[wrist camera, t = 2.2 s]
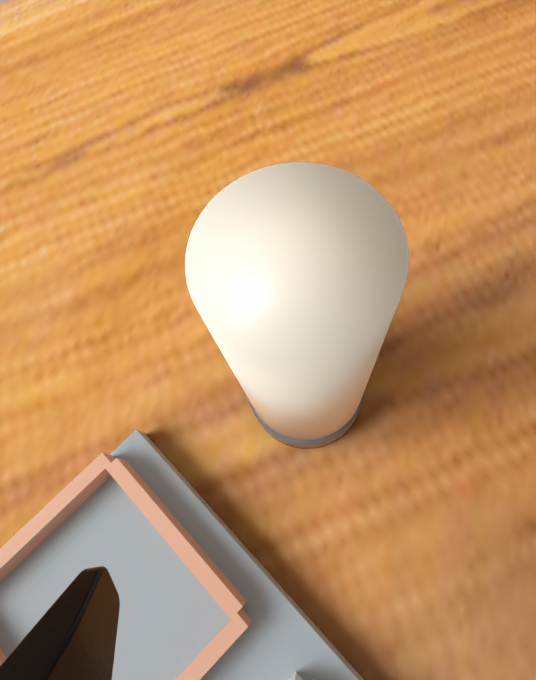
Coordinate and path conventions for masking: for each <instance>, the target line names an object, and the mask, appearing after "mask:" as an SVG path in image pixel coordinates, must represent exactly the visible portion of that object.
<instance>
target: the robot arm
mask: <svg viewBox="0 0 536 680" xmlns="http://www.w3.org/2000/svg"><path fill="white" fill-rule="evenodd" d="M119 610H120V599H119V595H118V592H117V590H116V587H115V585H114V583H113V580H112V578H111V576H110V573H109V571H108V569H107V568H106V567H104V566H99V567H93V568H87V569H84V570H83V571H81V572H80V573H79V574H78V575H77V577H76V578H75V579H74V580H73V581H72V582H71V584H70V585H69V586H68V587H67V588H66V589H65V591H64V592H63V593H62V594H61V595H60V596H59V598H58V599H57V600H56V601H55V602H54V603H53V605H52V606H51V607H50V608H49V609H48V610H47V612H46V613H45V614H44V615H43V616H42V617H41V619H40V620H39V621H38V622H37V623H36V624H35V626H34V627H33V628H32V629H31V630H30V631H29V633H28V634H27V635H26V636H25V637H24V639H23V640H22V641H21V642H20V643H19V644H18V646H17V647H16V648H15V649H14V650H13V651H12V653H11V654H10V655H9V656H8V657H7V658H6V660H5V661H4V662H3V663H2V664H1V665H0V680H112V673H113V664H114V655H115V646H116V637H117V628H118V619H119Z"/></svg>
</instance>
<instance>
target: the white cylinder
mask: <svg viewBox="0 0 536 680" xmlns="http://www.w3.org/2000/svg"><path fill="white" fill-rule="evenodd" d="M408 267H409V249H408V243H407V237H406V234H405V231H404V228H403V225H402V223H401V221H400V219H399V217H398V215H397V213H396V212H395V210H394V209H393V207H392V206H391V204H390V203H389V202H388V201H387V200H386V198H385V197H384V196H383V195H382V194H381V193H380V192H379V191H378V190H376V189H375V188H374V187H373V186H372V185H370V184H369V183H367V182H366V181H364V180H363V179H361V178H360V177H358V176H356V175H354V174H352V173H350V172H347V171H345V170H342V169H339V168H336V167H333V166H328V165H324V164H318V163H309V162H292V163H283V164H277V165H272V166H268V167H264V168H261V169H258V170H255V171H253V172H251V173H249V174H246V175H244V176H242V177H240V178H239V179H237V180H235V181H234V182H232V183H230V184H229V185H228V186H226V187H225V188H224V189H223V190H221V191H220V192H219V193H218V194H217V195H216V196H215V197H214V198H213V199H212V200H211V201H210V202H209V203H208V205H207V206H206V207H205V208H204V210H203V211H202V212H201V214H200V216H199V217H198V219H197V221H196V222H195V225H194V227H193V229H192V231H191V234H190V237H189V240H188V244H187V249H186V256H185V274H186V281H187V286H188V289H189V292H190V296H191V298H192V300H193V302H194V305H195V307H196V309H197V311H198V312H199V314H200V316H201V317H202V319H203V321H204V323H205V324H206V326H207V328H208V330H209V331H210V333H211V335H212V337H213V338H214V340H215V342H216V343H217V345H218V347H219V349H220V350H221V352H222V354H223V356H224V357H225V359H226V361H227V362H228V364H229V366H230V368H231V369H232V371H233V373H234V375H235V376H236V378H237V380H238V381H239V383H240V385H241V387H242V388H243V390H244V392H245V394H246V395H247V397H248V400H249V403H250V406H251V408H252V410H253V412H254V414H255V416H256V417H257V419H258V421H259V422H260V424H261V425H262V427H263V428H264V429H265V430H266V431H267V433H269V434H270V435H271V436H272V437H273V438H275V439H276V440H278V441H279V442H281V443H283V444H285V445H288V446H291V447H295V448H301V449H312V448H319V447H323V446H326V445H328V444H330V443H332V442H334V441H336V440H337V439H339V438H340V437H342V436H343V435H344V434H345V433H346V432H347V431H348V430H349V429H350V427H351V426H352V424H353V423H354V421H355V419H356V417H357V415H358V413H359V410H360V408H361V405H362V402H363V399H364V394H365V388H366V386H367V383H368V380H369V378H370V375H371V373H372V370H373V367H374V365H375V362H376V360H377V357H378V355H379V352H380V349H381V347H382V344H383V342H384V339H385V337H386V334H387V331H388V329H389V326H390V324H391V321H392V318H393V316H394V313H395V311H396V308H397V306H398V303H399V300H400V298H401V295H402V293H403V290H404V287H405V283H406V280H407V275H408Z"/></svg>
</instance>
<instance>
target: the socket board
mask: <svg viewBox="0 0 536 680" xmlns="http://www.w3.org/2000/svg"><path fill="white" fill-rule="evenodd" d="M99 566H104V567H106V568H107V569H108V571H109V573H110V576H111V578H112V580H113V583H114V585H115V587H116V590H117V592H118V595H119V599H120V610H119V619H118V628H117V637H116V646H115V655H114V664H113V673H112V680H364V679H363V678H362V677H361V676H360V675H359V673H358V672H357V671H356V670H355V669H354V668H353V667H352V666H351V664H350V663H349V662H348V661H347V660H346V659H345V658H344V657H343V655H342V654H341V653H340V652H339V651H338V650H337V649H336V648H335V646H334V645H333V644H332V643H331V642H330V641H329V640H328V639H327V637H326V636H325V635H324V634H323V633H322V632H321V631H320V630H319V628H318V627H317V626H316V625H315V624H314V623H313V622H312V621H311V619H310V618H309V617H308V616H307V615H306V614H305V613H304V612H303V610H302V609H301V608H300V607H299V606H298V605H297V604H296V603H295V601H294V600H293V599H292V598H291V597H290V596H289V595H288V594H287V592H286V591H285V590H284V589H283V588H282V587H281V586H280V585H279V583H278V582H277V581H276V580H275V579H274V578H273V577H272V576H271V574H270V573H269V572H268V571H267V570H266V569H265V568H264V567H263V565H262V564H261V563H260V562H259V561H258V560H257V559H256V558H255V556H254V555H253V554H252V553H251V552H250V551H249V550H248V549H247V547H246V546H245V545H244V544H243V543H242V542H241V541H240V540H239V538H238V537H237V536H236V535H235V534H234V533H233V532H232V531H231V529H230V528H229V527H228V526H227V525H226V524H225V523H224V522H223V521H222V519H221V518H220V517H219V516H218V515H217V514H216V513H215V512H214V510H213V509H212V508H211V507H210V506H209V505H208V504H207V503H206V501H205V500H204V499H203V498H202V497H201V496H200V495H199V494H198V492H197V491H196V490H195V489H194V488H193V487H192V486H191V485H190V483H189V482H188V481H187V480H186V479H185V478H184V477H183V476H182V474H181V473H180V472H179V471H178V470H177V469H176V468H175V467H174V465H173V464H172V463H171V462H170V461H169V460H168V459H167V458H166V456H165V455H164V454H163V453H162V452H161V451H160V450H159V449H158V447H157V446H156V445H155V444H154V443H153V442H152V441H151V440H150V438H149V437H148V436H147V435H146V434H145V433H143V432H141V431H139V430H137V429H136V430H135V431H134V432H133V433H132V434H131V435H130V436H129V437H128V438H127V439H126V440H125V441H124V442H123V443H121V444H120V445H119V446H118V447H117V448H116V449H115V450H114V451H113V452H112V453H111V454H110V455H109V454H106V453H101V454H100V455H99V456H98V457H97V458H96V459H95V460H94V461H92V462H91V463H90V464H89V465H88V466H87V467H86V468H85V469H84V470H83V471H82V472H81V473H80V474H79V475H78V476H77V477H76V478H74V479H73V480H72V481H71V482H70V483H69V484H68V485H67V486H66V487H65V488H64V489H63V490H62V491H61V492H60V493H59V494H58V495H56V496H55V497H54V498H53V499H52V500H51V501H50V502H49V503H48V504H47V505H46V506H45V507H44V508H43V509H42V510H41V511H40V512H38V513H37V514H36V515H35V516H34V517H33V518H32V519H31V520H30V521H29V522H28V523H27V524H26V525H25V526H24V527H23V528H22V529H20V530H19V531H18V532H17V533H16V534H15V535H14V536H13V537H12V538H11V539H10V540H9V541H8V542H7V543H6V544H5V545H4V546H2V547H1V548H0V665H1V664H2V663H3V662H4V661H5V660H6V658H7V657H8V656H9V655H10V654H11V653H12V651H13V650H14V649H15V648H16V647H17V646H18V644H19V643H20V642H21V641H22V640H23V639H24V637H25V636H26V635H27V634H28V633H29V631H30V630H31V629H32V628H33V627H34V626H35V624H36V623H37V622H38V621H39V620H40V619H41V617H42V616H43V615H44V614H45V613H46V612H47V610H48V609H49V608H50V607H51V606H52V605H53V603H54V602H55V601H56V600H57V599H58V598H59V596H60V595H61V594H62V593H63V592H64V591H65V589H66V588H67V587H68V586H69V585H70V584H71V582H72V581H73V580H74V579H75V578H76V577H77V575H78V574H79V573H80V572H81V571H83V570H84V569H87V568H93V567H99Z"/></svg>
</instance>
